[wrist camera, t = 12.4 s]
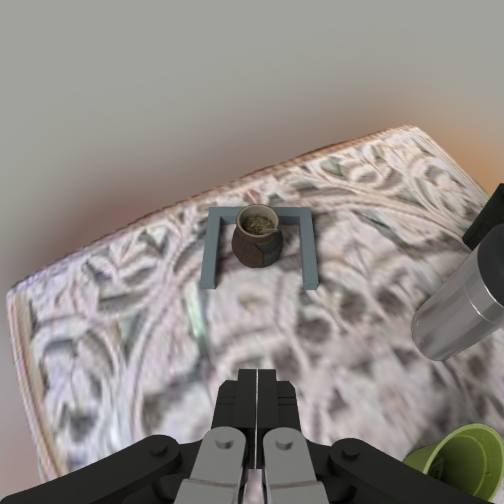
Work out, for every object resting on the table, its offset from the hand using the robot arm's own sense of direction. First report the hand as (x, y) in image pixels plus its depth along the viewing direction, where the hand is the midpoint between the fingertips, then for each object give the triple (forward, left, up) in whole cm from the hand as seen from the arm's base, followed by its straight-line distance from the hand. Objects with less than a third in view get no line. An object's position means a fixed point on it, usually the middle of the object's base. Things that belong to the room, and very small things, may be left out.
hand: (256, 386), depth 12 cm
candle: (-40, -26, -26) cm, 54 cm away
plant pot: (-21, +10, -26) cm, 35 cm away
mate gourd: (0, -23, -26) cm, 35 cm away
